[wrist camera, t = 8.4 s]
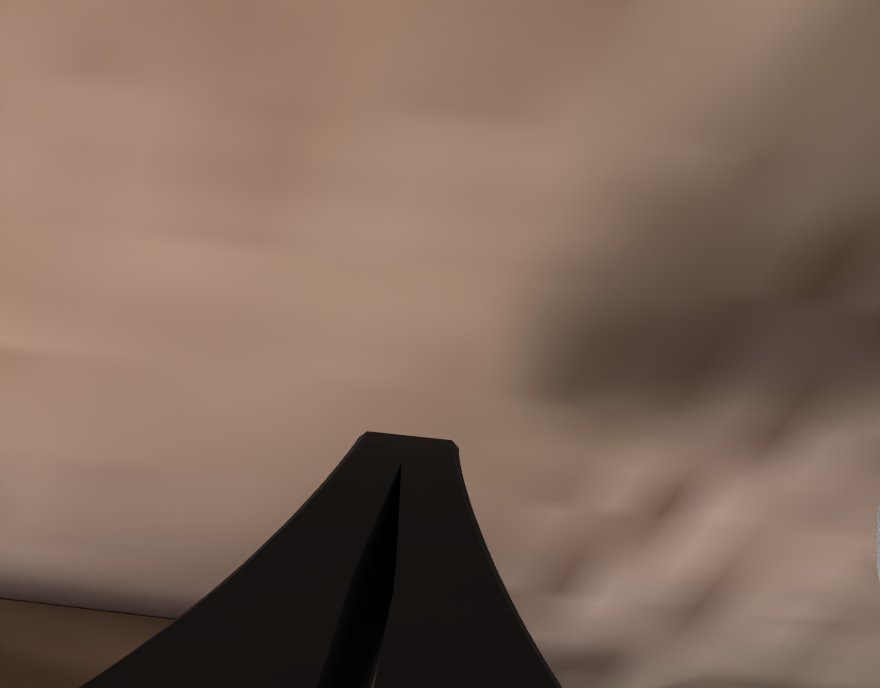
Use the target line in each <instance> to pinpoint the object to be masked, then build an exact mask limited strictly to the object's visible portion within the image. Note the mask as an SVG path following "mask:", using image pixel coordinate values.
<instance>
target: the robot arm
mask: <svg viewBox="0 0 880 688" xmlns="http://www.w3.org/2000/svg"><path fill="white" fill-rule="evenodd" d="M376 671H377V672H376ZM375 675H376V677H375ZM374 678H375V681H374ZM373 682H374V686H373ZM372 686H373V688H562V687H561V685H560V683H559V682H558V680H557V679H556V677H555V676H554V674H553V672H552V671H551V669H550V668H549V666H548V665H547V663H546V661H545V660H544V658H543V656H542V654H541V653H540V651H539V649H538V648H537V646H536V644H535V642H534V641H533V639H532V637H531V636H530V634H529V632H528V630H527V629H526V627H525V625H524V623H523V621H522V619H521V618H520V616H519V614H518V612H517V610H516V608H515V606H514V604H513V602H512V600H511V598H510V596H509V594H508V592H507V590H506V588H505V586H504V584H503V582H502V580H501V577H500V575H499V573H498V571H497V569H496V567H495V565H494V562H493V560H492V558H491V555H490V553H489V551H488V548H487V546H486V543H485V541H484V538H483V536H482V533H481V530H480V528H479V525H478V523H477V520H476V518H475V515H474V512H473V509H472V506H471V503H470V500H469V497H468V493H467V490H466V487H465V483H464V479H463V475H462V471H461V466H460V459H459V448H458V447H457V446H456V444H455V443H454V442H453V441H452V440H444V439H435V438H425V437H416V436H406V435H397V434H387V433H378V432H369V431H367V432H366V433H364V434H363V435H361V436H360V437H359V438H358V439H357V441H356V442H355V444H354V445H353V446H352V448H351V449H350V450H349V452H348V453H347V454H346V456H345V457H344V458H343V459H342V461H341V462H340V463H339V464H338V466H337V467H336V468H335V469H334V470H333V472H332V473H331V474H330V475H329V476H328V477H327V479H326V480H325V481H324V482H323V483H322V484H321V486H320V487H319V488H318V489H317V490H316V491H315V492H314V493H313V494H312V495H311V497H310V498H309V499H308V500H307V501H306V502H305V503H304V504H303V505H302V506H301V507H300V508H299V510H298V511H297V512H296V513H295V514H294V515H293V516H292V517H291V518H290V519H289V520H288V521H287V522H286V523H285V524H284V525H283V526H282V527H281V528H280V529H279V530H278V531H277V532H276V533H275V534H274V535H273V536H272V537H271V538H270V539H269V540H268V541H267V542H266V543H265V544H264V545H262V546H261V547H260V548H259V549H258V550H257V551H256V552H255V553H254V554H253V555H252V556H251V557H250V558H249V559H248V560H247V561H246V562H245V563H244V564H242V565H241V566H240V567H239V568H238V569H237V570H236V571H234V572H233V573H232V574H231V575H230V576H229V577H228V578H226V579H225V580H224V581H223V582H222V583H221V584H219V585H218V586H217V587H216V588H215V589H214V590H212V591H211V592H210V593H209V594H207V595H206V596H205V597H204V598H202V599H201V600H200V601H199V602H197V603H196V604H195V605H194V606H193V607H191V608H190V609H189V610H188V611H186V612H185V613H184V614H182V615H181V616H180V617H179V618H177V619H176V620H175V621H173V622H172V623H170V624H169V625H168V626H166V627H165V628H164V629H162V630H161V631H160V632H158V633H157V634H155V635H154V636H153V637H151V638H150V639H149V640H147V641H146V642H144V643H143V644H142V645H140V646H139V647H138V648H136V649H135V650H134V651H132V652H131V653H129V654H128V655H127V656H125V657H124V658H122V659H121V660H119V661H118V662H116V663H115V664H113V665H112V666H110V667H109V668H108V669H106V670H105V671H103V672H102V673H100V674H99V675H97V676H96V677H94V678H93V679H91V680H89V681H88V682H86V683H85V684H83V685H81V686H80V687H78V688H372Z"/></svg>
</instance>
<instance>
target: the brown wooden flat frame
mask: <svg viewBox="0 0 880 688" xmlns="http://www.w3.org/2000/svg"><path fill="white" fill-rule="evenodd" d="M173 621H175V620H172V619H164V618H155V617H147V616H139V615H130V614H122V613H113V612H105V611H97V610H88V609H80V608H72V607H63V606H55V605H47V604H38V603H30V602H22V601H13V600H5V599H0V688H78V687H80V686H81V685H83V684H85V683H86V682H88V681H89V680H91V679H93V678H94V677H96V676H97V675H99V674H100V673H102V672H103V671H105V670H106V669H108V668H109V667H110V666H112V665H113V664H115V663H116V662H118V661H119V660H121V659H122V658H124V657H125V656H127V655H128V654H129V653H131V652H132V651H134V650H135V649H136V648H138V647H139V646H140V645H142V644H143V643H144V642H146V641H147V640H149V639H150V638H151V637H153V636H154V635H155V634H157V633H158V632H160V631H161V630H162V629H164V628H165V627H166V626H168V625H169V624H170V623H172V622H173ZM376 672H377V671H376ZM375 677H376V675H375ZM374 681H375V678H374ZM373 686H374V682H373ZM373 686H372V688H373Z"/></svg>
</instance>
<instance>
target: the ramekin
mask: <svg viewBox="0 0 880 688" xmlns="http://www.w3.org/2000/svg"><path fill="white" fill-rule="evenodd" d="M875 538H876V550H877V571H878V576H879V580H880V502H879V506H878V509H877V530H876V536H875Z"/></svg>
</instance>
